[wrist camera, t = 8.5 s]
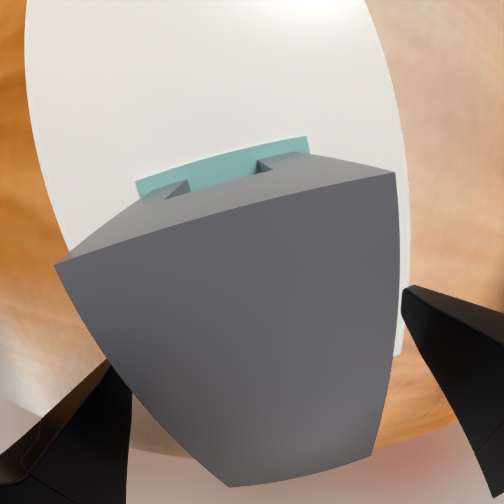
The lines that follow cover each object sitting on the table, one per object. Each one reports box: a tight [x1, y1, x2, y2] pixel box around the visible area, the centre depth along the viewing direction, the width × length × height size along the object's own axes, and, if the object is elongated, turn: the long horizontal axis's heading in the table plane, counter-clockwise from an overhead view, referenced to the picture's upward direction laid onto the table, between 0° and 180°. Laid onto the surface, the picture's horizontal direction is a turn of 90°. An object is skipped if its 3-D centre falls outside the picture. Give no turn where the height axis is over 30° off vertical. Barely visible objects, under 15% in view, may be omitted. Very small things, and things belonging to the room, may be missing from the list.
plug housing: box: [54, 151, 400, 487], centre depth 8 cm, size 5×9×6 cm, turn 14°
